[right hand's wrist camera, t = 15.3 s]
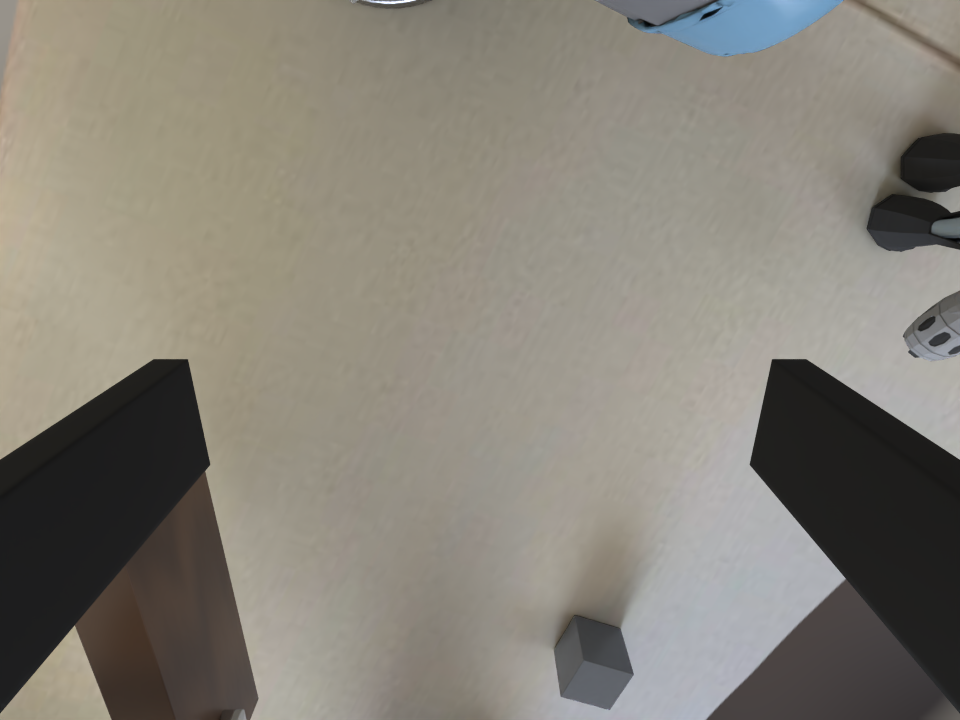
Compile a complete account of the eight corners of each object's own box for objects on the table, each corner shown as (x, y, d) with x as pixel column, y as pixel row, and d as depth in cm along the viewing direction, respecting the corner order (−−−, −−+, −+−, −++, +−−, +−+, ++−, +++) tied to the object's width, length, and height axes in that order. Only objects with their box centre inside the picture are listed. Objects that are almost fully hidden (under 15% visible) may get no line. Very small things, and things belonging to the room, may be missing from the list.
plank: (135, 427, 36) (30, 513, 28) (195, 427, 36) (108, 513, 28) (211, 698, 46) (151, 823, 37) (258, 698, 46) (209, 822, 37)
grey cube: (574, 614, 53) (583, 660, 48) (620, 628, 53) (634, 674, 49) (553, 649, 54) (560, 697, 50) (598, 662, 55) (609, 710, 50)
